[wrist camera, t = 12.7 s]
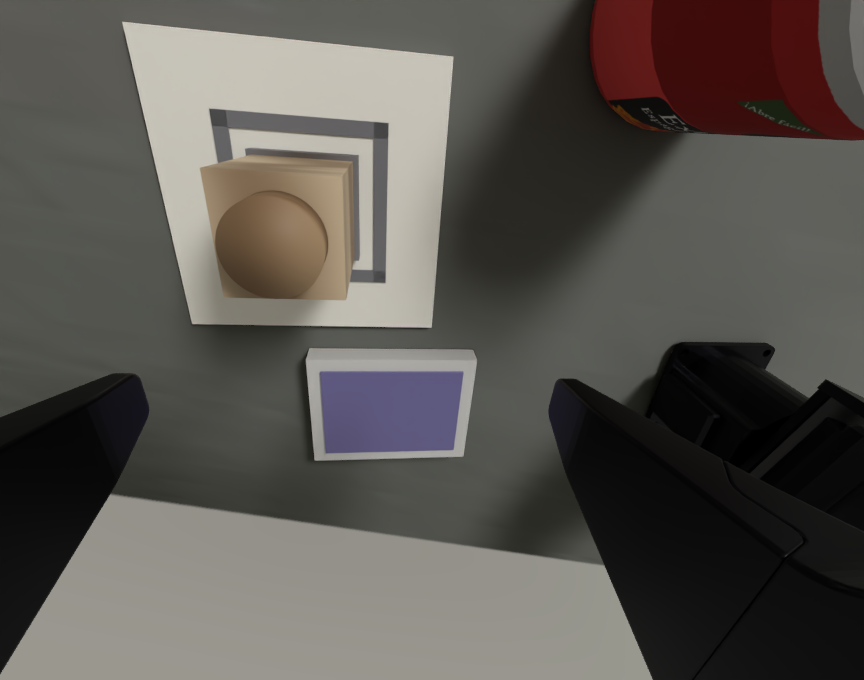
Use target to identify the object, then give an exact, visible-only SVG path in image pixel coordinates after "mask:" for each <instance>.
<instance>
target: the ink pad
mask: <svg viewBox="0 0 864 680" xmlns="http://www.w3.org/2000/svg"><path fill="white" fill-rule="evenodd" d="M476 365H477V359H476V356H475V354H474V351H473V350H463V349H338V348H309V351H308V354H307V358H306V368H307V379H308V391H309V402H310V413H311V425H312V436H313V448H314V459H315V461H321V460H357V459H393V458H429V457H463V454H464V447H465V440H466V434H467V427H468V420H469V413H470V406H471V399H472V393H473V386H474V379H475V372H476Z"/></svg>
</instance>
